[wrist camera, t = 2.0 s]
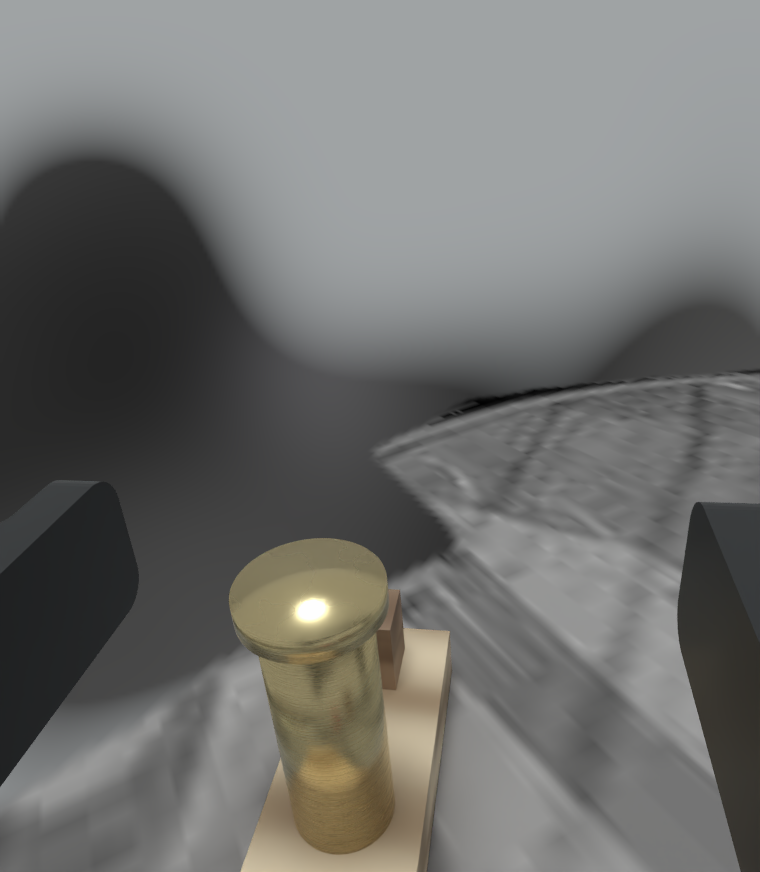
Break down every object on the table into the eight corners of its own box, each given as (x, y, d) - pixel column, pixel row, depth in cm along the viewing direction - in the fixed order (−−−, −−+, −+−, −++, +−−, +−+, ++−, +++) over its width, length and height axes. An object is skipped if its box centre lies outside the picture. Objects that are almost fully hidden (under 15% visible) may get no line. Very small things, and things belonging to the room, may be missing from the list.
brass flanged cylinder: (351, 728, 34) (321, 521, 29) (436, 803, 30) (419, 580, 25) (254, 805, 31) (199, 588, 25) (335, 899, 27) (290, 668, 21)
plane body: (334, 661, 42) (320, 567, 39) (451, 670, 41) (446, 573, 37) (173, 1160, 23) (119, 1056, 20) (384, 1210, 22) (362, 1106, 18)
